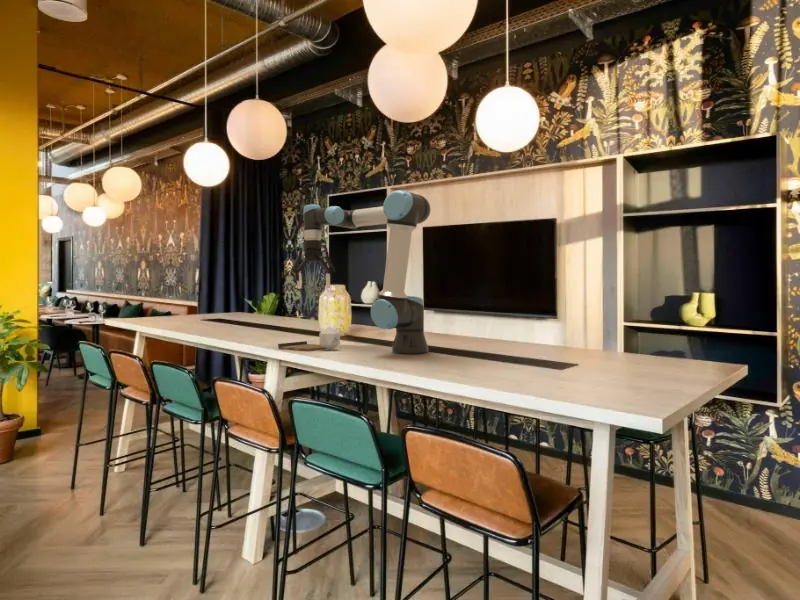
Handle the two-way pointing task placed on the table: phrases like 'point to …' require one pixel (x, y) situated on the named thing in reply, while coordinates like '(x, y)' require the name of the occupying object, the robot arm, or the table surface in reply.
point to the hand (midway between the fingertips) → (314, 288)
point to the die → (329, 338)
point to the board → (300, 346)
